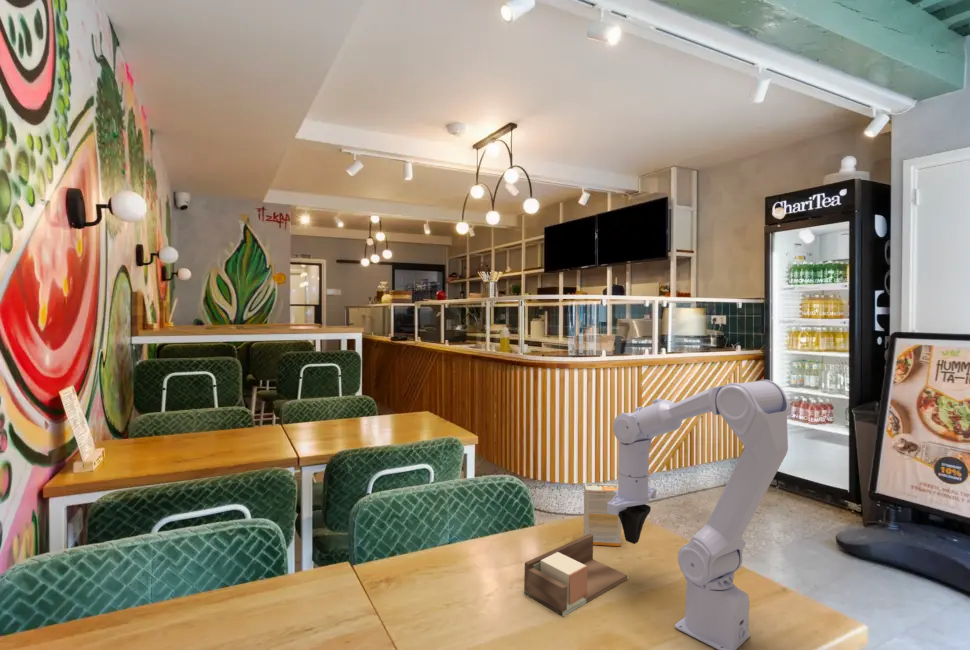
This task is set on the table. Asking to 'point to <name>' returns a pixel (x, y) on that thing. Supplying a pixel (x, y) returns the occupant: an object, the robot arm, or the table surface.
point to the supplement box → (601, 515)
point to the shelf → (556, 592)
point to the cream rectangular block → (567, 574)
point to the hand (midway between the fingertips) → (631, 541)
